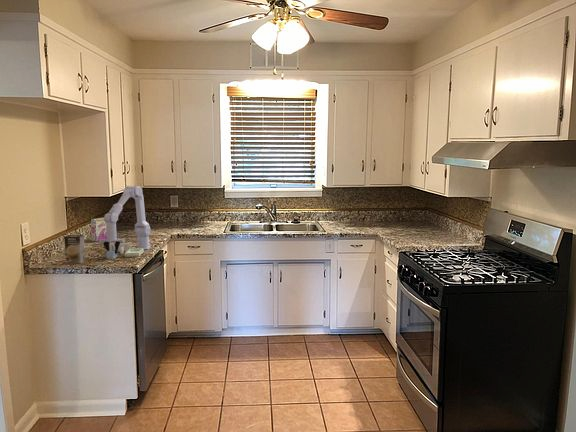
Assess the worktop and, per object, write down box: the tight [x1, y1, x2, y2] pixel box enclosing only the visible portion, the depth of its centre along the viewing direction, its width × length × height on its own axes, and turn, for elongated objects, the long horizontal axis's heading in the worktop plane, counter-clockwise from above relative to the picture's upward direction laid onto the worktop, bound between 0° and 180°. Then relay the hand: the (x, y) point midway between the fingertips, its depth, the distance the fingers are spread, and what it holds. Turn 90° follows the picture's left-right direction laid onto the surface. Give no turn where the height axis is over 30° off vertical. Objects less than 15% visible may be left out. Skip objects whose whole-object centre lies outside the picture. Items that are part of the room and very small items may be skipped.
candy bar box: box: [90, 217, 107, 242], centre depth 330 cm, size 11×5×16 cm, turn 152°
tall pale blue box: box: [105, 245, 119, 260], centre depth 277 cm, size 10×4×8 cm, turn 7°
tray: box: [124, 247, 145, 258], centre depth 285 cm, size 15×9×2 cm, turn 6°
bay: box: [109, 242, 131, 255], centre depth 291 cm, size 9×13×5 cm
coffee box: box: [64, 234, 86, 264], centre depth 263 cm, size 9×6×16 cm
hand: (112, 253), depth 278 cm, fingers closed on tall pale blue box, 4 cm apart
